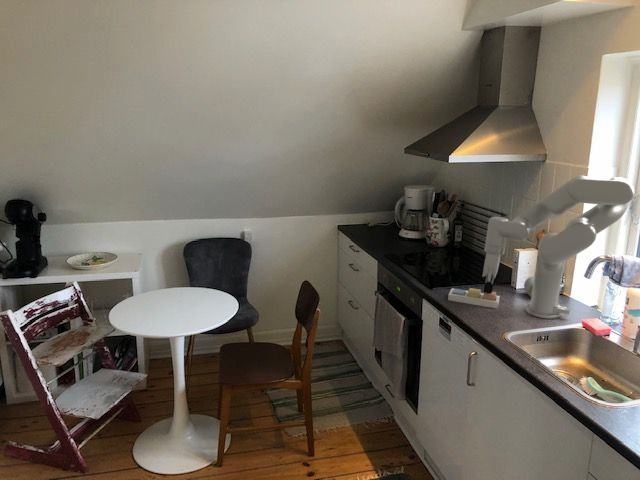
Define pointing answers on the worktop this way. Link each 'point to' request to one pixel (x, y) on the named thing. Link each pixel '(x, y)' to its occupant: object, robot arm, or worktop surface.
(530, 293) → the ceramic mug
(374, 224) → the worktop surface
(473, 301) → the panel
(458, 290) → the slate button
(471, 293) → the mustard button
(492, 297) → the terracotta button
